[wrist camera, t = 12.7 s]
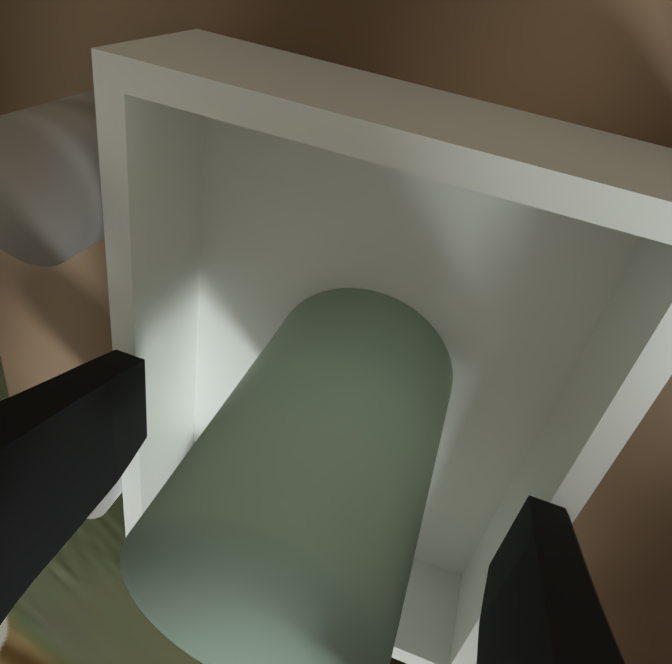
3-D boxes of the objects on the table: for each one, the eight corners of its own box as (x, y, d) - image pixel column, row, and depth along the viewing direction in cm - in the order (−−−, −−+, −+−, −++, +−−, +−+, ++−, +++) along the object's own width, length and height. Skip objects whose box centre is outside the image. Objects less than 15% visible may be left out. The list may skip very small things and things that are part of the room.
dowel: (480, 326, 11) (429, 598, 6) (422, 459, 14) (353, 733, 9) (291, 262, 12) (115, 470, 7) (267, 402, 14) (122, 629, 9)
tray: (711, 157, 9) (769, 227, 7) (475, 578, 16) (462, 687, 14) (196, 28, 10) (91, 48, 8) (185, 467, 17) (126, 548, 15)
